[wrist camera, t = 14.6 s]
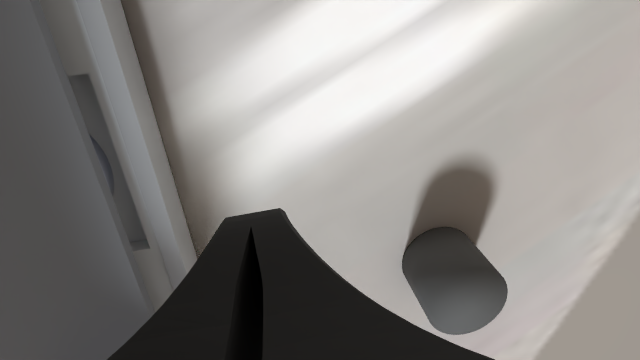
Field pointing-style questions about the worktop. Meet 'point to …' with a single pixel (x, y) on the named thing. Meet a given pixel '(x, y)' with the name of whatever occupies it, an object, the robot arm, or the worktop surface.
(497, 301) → the dark grey cylinder
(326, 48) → the worktop surface
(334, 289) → the robot arm
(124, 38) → the tray
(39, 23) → the housing
